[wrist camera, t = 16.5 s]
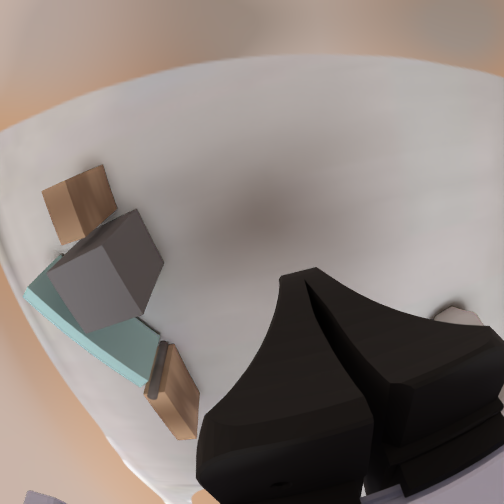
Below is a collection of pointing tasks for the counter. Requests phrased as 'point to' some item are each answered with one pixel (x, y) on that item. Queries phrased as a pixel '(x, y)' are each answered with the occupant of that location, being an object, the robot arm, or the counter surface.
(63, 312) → the door
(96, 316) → the block
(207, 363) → the counter surface
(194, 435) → the wall
